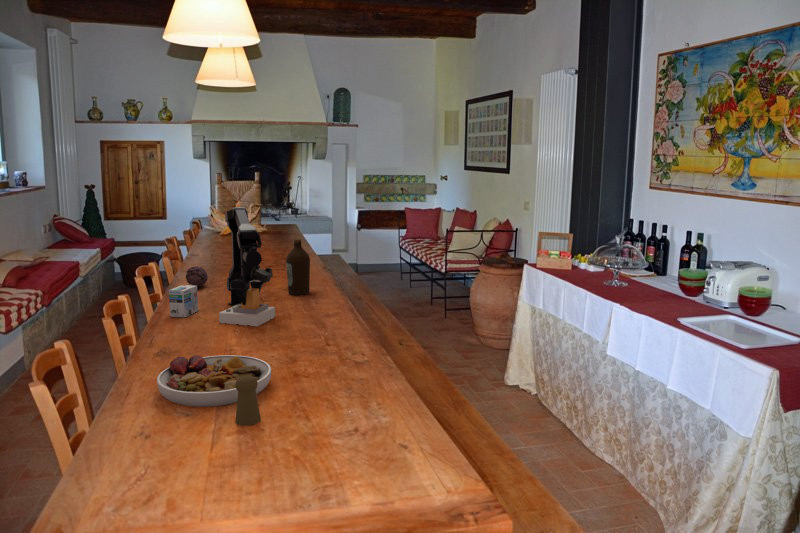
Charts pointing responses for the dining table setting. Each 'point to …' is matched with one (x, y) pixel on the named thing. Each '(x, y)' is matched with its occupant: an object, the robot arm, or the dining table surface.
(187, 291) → the light bulb box
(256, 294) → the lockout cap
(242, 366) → the bowl
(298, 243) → the olive oil
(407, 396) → the dining table surface
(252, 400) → the salt shaker
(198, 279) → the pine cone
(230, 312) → the white recessed base box
